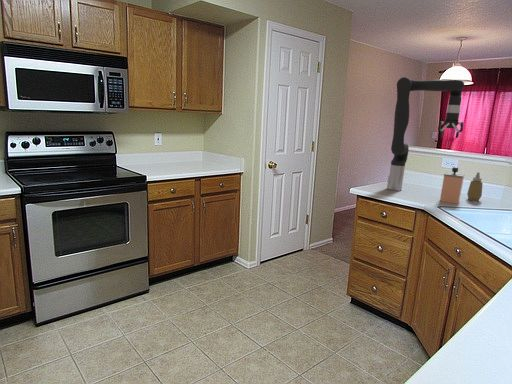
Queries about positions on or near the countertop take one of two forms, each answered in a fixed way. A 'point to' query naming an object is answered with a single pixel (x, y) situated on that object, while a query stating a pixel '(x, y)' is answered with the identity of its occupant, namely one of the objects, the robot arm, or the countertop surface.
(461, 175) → the drawer with knob
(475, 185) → the squeeze bottle
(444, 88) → the robot arm
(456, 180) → the open tunnel frame
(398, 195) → the countertop surface
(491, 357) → the countertop surface
